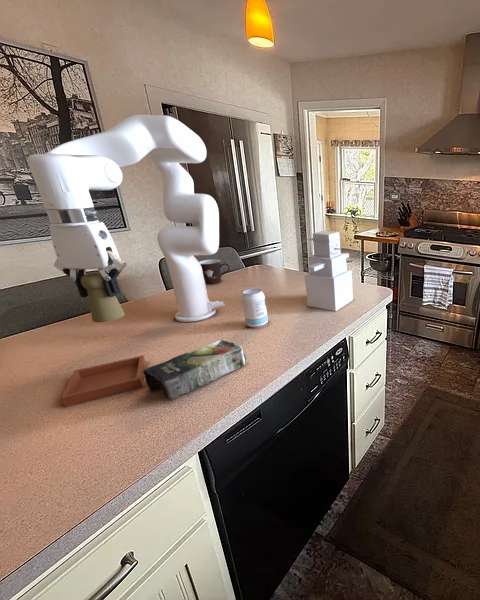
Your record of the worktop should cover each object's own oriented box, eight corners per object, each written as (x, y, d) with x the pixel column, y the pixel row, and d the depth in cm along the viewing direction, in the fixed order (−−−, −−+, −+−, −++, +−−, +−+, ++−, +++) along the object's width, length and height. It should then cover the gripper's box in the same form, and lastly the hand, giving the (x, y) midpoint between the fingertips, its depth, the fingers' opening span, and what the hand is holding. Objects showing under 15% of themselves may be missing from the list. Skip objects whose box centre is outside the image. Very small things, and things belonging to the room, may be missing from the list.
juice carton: (228, 353, 92) (224, 333, 90) (250, 363, 88) (246, 343, 85) (148, 390, 76) (140, 368, 74) (169, 405, 72) (162, 382, 69)
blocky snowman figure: (298, 311, 122) (290, 236, 112) (333, 292, 142) (328, 227, 132) (327, 316, 117) (321, 239, 107) (359, 296, 138) (356, 229, 128)
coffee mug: (198, 284, 150) (193, 263, 146) (211, 279, 158) (207, 259, 154) (221, 286, 148) (217, 264, 145) (233, 280, 156) (229, 260, 152)
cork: (106, 323, 75) (90, 278, 71) (85, 321, 77) (68, 276, 72) (131, 313, 81) (117, 270, 77) (111, 310, 82) (96, 269, 78)
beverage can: (254, 319, 114) (249, 287, 110) (272, 321, 113) (267, 288, 109) (242, 327, 108) (235, 294, 104) (260, 330, 107) (255, 295, 102)
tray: (145, 362, 87) (143, 355, 87) (142, 386, 78) (139, 378, 77) (78, 378, 80) (74, 370, 80) (64, 407, 71) (60, 397, 70)
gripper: (127, 214, 74) (149, 289, 81) (48, 214, 73) (77, 290, 80) (101, 219, 67) (127, 300, 74) (13, 219, 66) (48, 301, 73)
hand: (101, 294), depth 77 cm, fingers closed on cork, 5 cm apart
